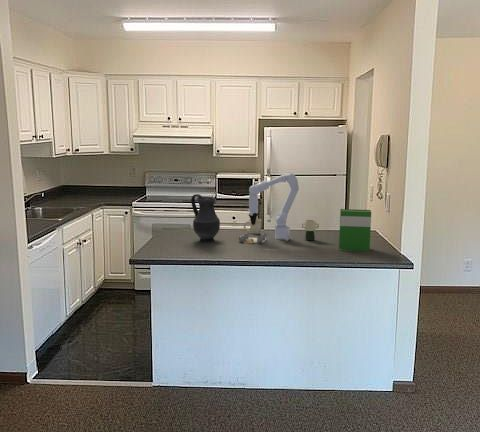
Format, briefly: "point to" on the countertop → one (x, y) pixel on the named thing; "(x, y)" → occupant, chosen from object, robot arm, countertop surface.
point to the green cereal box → (355, 229)
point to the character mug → (310, 229)
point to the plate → (255, 240)
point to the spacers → (246, 236)
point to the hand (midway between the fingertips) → (253, 224)
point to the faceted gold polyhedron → (249, 240)
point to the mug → (254, 226)
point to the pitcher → (205, 218)
